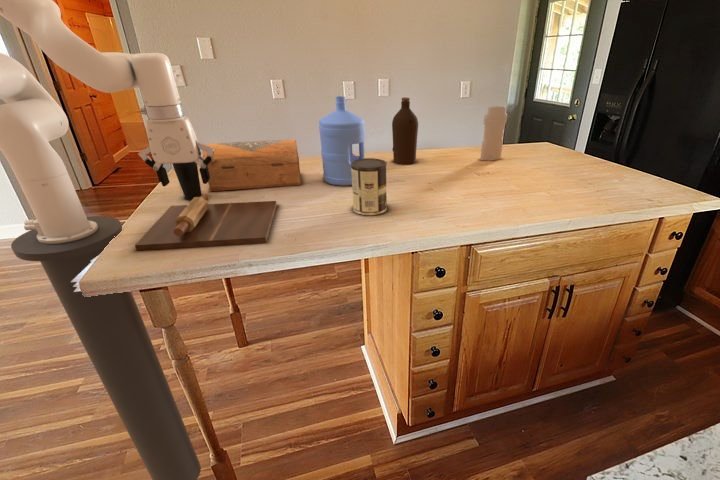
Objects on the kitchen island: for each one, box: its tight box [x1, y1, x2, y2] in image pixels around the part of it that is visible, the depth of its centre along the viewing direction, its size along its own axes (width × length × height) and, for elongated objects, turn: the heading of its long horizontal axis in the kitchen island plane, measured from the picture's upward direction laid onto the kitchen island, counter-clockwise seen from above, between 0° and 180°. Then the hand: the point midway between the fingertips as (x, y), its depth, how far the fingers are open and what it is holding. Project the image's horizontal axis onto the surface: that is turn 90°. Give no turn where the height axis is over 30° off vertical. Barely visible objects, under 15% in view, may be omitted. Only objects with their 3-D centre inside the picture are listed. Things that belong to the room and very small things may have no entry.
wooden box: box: [202, 139, 302, 192], centre depth 137 cm, size 30×16×14 cm, turn 105°
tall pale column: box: [479, 104, 508, 161], centre depth 165 cm, size 11×4×22 cm, turn 106°
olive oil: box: [391, 97, 419, 165], centre depth 160 cm, size 11×11×25 cm
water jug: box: [318, 96, 366, 187], centre depth 136 cm, size 16×16×28 cm
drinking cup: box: [171, 162, 203, 201], centre depth 121 cm, size 8×8×20 cm
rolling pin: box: [173, 194, 209, 236], centre depth 104 cm, size 4×24×4 cm, turn 10°
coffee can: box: [351, 157, 388, 216], centre depth 115 cm, size 10×10×14 cm
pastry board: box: [134, 200, 278, 252], centre depth 107 cm, size 30×26×2 cm
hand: (186, 183), depth 100 cm, fingers open, 9 cm apart
